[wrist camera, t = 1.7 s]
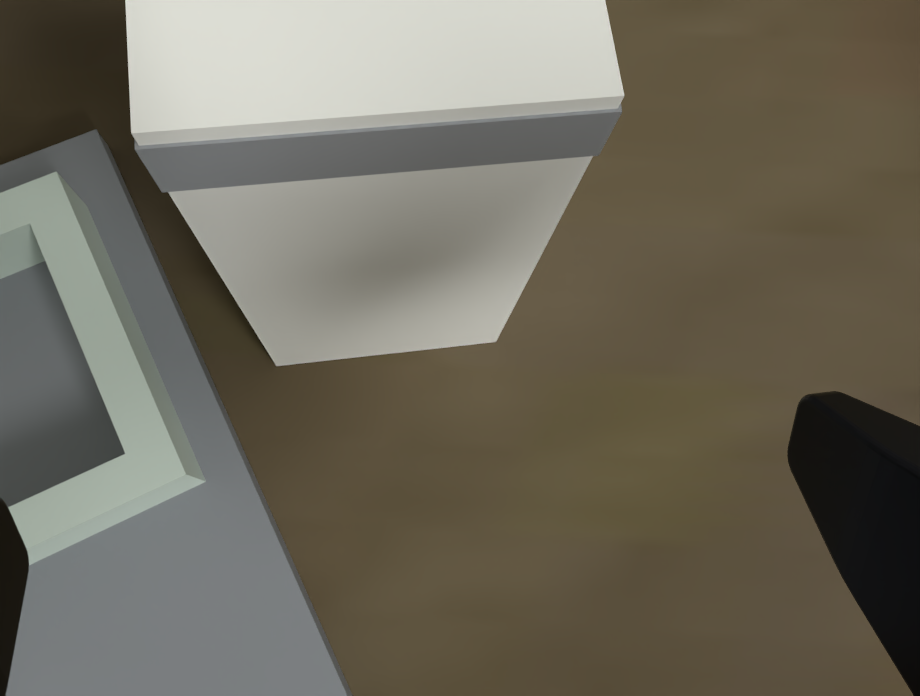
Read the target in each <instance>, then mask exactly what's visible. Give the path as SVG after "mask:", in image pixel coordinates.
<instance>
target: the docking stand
mask: <svg viewBox="0 0 920 696" xmlns="http://www.w3.org/2000/svg"><path fill="white" fill-rule="evenodd" d="M0 498H2V499H3V500H4V501H5V503H6V504H7V506H8V508H9V510H10V512H11V515H12V517H13V519H14V521H15V524H16V526H17V528H18V531H19V533H20V535H21V537H22V540H23V542H24V544H25V546H26V549H27V552H28V557H29V573H28V579H27V584H26V589H25V595H24V600H23V606H22V611H21V617H20V622H19V628H18V633H17V639H16V644H15V649H14V655H13V660H12V666H11V671H10V677H9V682H8V687H7V692H6V696H353V695H352V693H351V691H350V689H349V686H348V684H347V682H346V680H345V677H344V675H343V673H342V671H341V668H340V666H339V664H338V662H337V659H336V657H335V655H334V653H333V650H332V648H331V646H330V644H329V641H328V639H327V637H326V635H325V632H324V630H323V628H322V626H321V623H320V621H319V619H318V617H317V614H316V612H315V610H314V608H313V605H312V603H311V601H310V599H309V596H308V594H307V592H306V590H305V587H304V585H303V583H302V581H301V578H300V576H299V574H298V572H297V569H296V567H295V565H294V563H293V560H292V558H291V556H290V554H289V551H288V549H287V547H286V545H285V542H284V540H283V538H282V536H281V533H280V531H279V529H278V527H277V524H276V522H275V520H274V518H273V515H272V513H271V511H270V509H269V506H268V504H267V502H266V500H265V497H264V495H263V493H262V491H261V488H260V486H259V484H258V482H257V479H256V477H255V475H254V473H253V470H252V468H251V466H250V464H249V461H248V459H247V457H246V455H245V452H244V450H243V448H242V446H241V443H240V441H239V439H238V437H237V434H236V432H235V430H234V428H233V425H232V423H231V421H230V419H229V416H228V414H227V412H226V410H225V407H224V405H223V403H222V401H221V398H220V396H219V394H218V392H217V389H216V387H215V385H214V383H213V380H212V378H211V376H210V374H209V371H208V369H207V367H206V365H205V362H204V360H203V358H202V356H201V353H200V351H199V349H198V347H197V344H196V342H195V340H194V338H193V335H192V333H191V331H190V329H189V326H188V324H187V322H186V320H185V317H184V315H183V313H182V311H181V308H180V306H179V304H178V302H177V299H176V297H175V295H174V293H173V290H172V288H171V286H170V284H169V281H168V279H167V277H166V275H165V272H164V270H163V268H162V266H161V263H160V261H159V259H158V257H157V254H156V252H155V250H154V248H153V245H152V243H151V241H150V239H149V236H148V234H147V232H146V230H145V227H144V225H143V223H142V221H141V218H140V216H139V214H138V212H137V209H136V207H135V205H134V203H133V200H132V198H131V196H130V194H129V191H128V189H127V187H126V185H125V182H124V180H123V178H122V176H121V173H120V171H119V169H118V167H117V164H116V162H115V160H114V158H113V155H112V153H111V151H110V149H109V147H108V145H107V144H106V142H105V141H104V139H103V138H102V137H101V135H100V134H99V132H98V131H97V130H96V129H95V130H92V131H90V132H87V133H85V134H82V135H79V136H77V137H74V138H71V139H69V140H66V141H63V142H61V143H58V144H55V145H53V146H50V147H47V148H45V149H42V150H39V151H37V152H34V153H32V154H29V155H26V156H24V157H21V158H18V159H16V160H13V161H10V162H8V163H5V164H2V165H0Z"/></svg>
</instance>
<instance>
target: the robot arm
mask: <svg viewBox="0 0 920 696" xmlns="http://www.w3.org/2000/svg"><path fill="white" fill-rule="evenodd" d="M788 463H789V466H790V469H791V472H792V474H793V476H794V478H795V480H796V482H797V484H798V486H799V489H800V491H801V493H802V495H803V497H804V499H805V501H806V503H807V505H808V508H809V510H810V512H811V514H812V516H813V518H814V520H815V522H816V524H817V527H818V529H819V531H820V533H821V535H822V537H823V539H824V541H825V544H826V546H827V548H828V550H829V552H830V554H831V556H832V558H833V560H834V562H835V564H836V566H837V568H838V570H839V572H840V574H841V576H842V578H843V580H844V581H845V583H846V585H847V586H848V588H849V590H850V592H851V593H852V595H853V597H854V598H855V600H856V602H857V603H858V605H859V607H860V608H861V610H862V612H863V613H864V615H865V616H866V618H867V620H868V621H869V623H870V625H871V626H872V628H873V630H874V631H875V633H876V635H877V636H878V638H879V639H880V641H881V643H882V644H883V646H884V648H885V649H886V651H887V653H888V654H889V656H890V657H891V659H892V661H893V662H894V664H895V666H896V667H897V669H898V671H899V672H900V674H901V675H902V677H903V679H904V680H905V682H906V684H907V685H908V687H909V689H910V690H911V692H912V693H913V695H914V696H920V426H918V425H916V424H913V423H911V422H909V421H907V420H904V419H902V418H900V417H897V416H895V415H893V414H890V413H888V412H886V411H883V410H881V409H879V408H876V407H874V406H872V405H869V404H867V403H865V402H862V401H860V400H858V399H855V398H853V397H851V396H848V395H846V394H844V393H841V392H837V391H831V392H823V393H815V394H808V395H806V396H804V397H803V398H802V399H801V400H800V402H799V404H798V407H797V411H796V415H795V419H794V424H793V428H792V432H791V436H790V441H789V445H788ZM28 573H29V557H28V552H27V549H26V546H25V544H24V542H23V540H22V537H21V535H20V533H19V531H18V528H17V526H16V524H15V521H14V519H13V517H12V515H11V512H10V510H9V508H8V506H7V504H6V503H5V501H4V500H3V499H2V498H0V696H6V692H7V687H8V682H9V677H10V671H11V666H12V660H13V655H14V649H15V644H16V639H17V633H18V628H19V622H20V617H21V611H22V606H23V600H24V595H25V589H26V584H27V579H28Z"/></svg>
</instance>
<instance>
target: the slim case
mask: <svg viewBox="0 0 920 696" xmlns="http://www.w3.org/2000/svg"><path fill="white" fill-rule="evenodd" d="M125 5H126V27H127V50H128V73H129V95H130V118H131V134H132V135H133V137H134V143H135V151H136V152H137V154H138V156H139V157H140V159H141V160H142V162H143V163H144V165H145V167H146V168H147V170H148V171H149V173H150V174H151V176H152V177H153V179H154V181H155V182H156V184H157V185H158V187H159V188H160V190H161V192H168V193H169V195H170V196H171V198H172V200H173V201H174V203H175V204H176V206H177V208H178V209H179V211H180V212H181V214H182V216H183V217H184V219H185V220H186V222H187V224H188V225H189V227H190V228H191V230H192V232H193V233H194V235H195V236H196V238H197V240H198V241H199V243H200V244H201V246H202V248H203V249H204V251H205V253H206V254H207V256H208V257H209V259H210V261H211V262H212V264H213V265H214V267H215V269H216V270H217V272H218V273H219V275H220V277H221V278H222V280H223V281H224V283H225V285H226V286H227V288H228V289H229V291H230V293H231V294H232V296H233V297H234V299H235V301H236V302H237V304H238V305H239V307H240V309H241V310H242V312H243V313H244V315H245V317H246V318H247V320H248V321H249V323H250V325H251V326H252V328H253V329H254V331H255V333H256V334H257V336H258V338H259V339H260V341H261V342H262V344H263V346H264V347H265V349H266V350H267V352H268V354H269V355H270V357H271V358H272V360H273V362H274V363H275V365H276V366H283V365H292V364H301V363H310V362H319V361H328V360H337V359H346V358H355V357H364V356H373V355H382V354H391V353H401V352H410V351H419V350H428V349H437V348H446V347H455V346H464V345H473V344H482V343H491V342H496V341H497V339H498V337H499V335H500V333H501V331H502V329H503V327H504V325H505V323H506V322H507V320H508V318H509V316H510V314H511V312H512V310H513V308H514V306H515V304H516V302H517V300H518V299H519V297H520V295H521V293H522V291H523V289H524V287H525V285H526V283H527V281H528V279H529V277H530V276H531V274H532V272H533V270H534V268H535V266H536V264H537V262H538V260H539V258H540V256H541V255H542V253H543V251H544V249H545V247H546V245H547V243H548V241H549V239H550V237H551V235H552V233H553V232H554V230H555V228H556V226H557V224H558V222H559V220H560V218H561V216H562V214H563V212H564V210H565V209H566V207H567V205H568V203H569V201H570V199H571V197H572V195H573V193H574V191H575V189H576V187H577V186H578V184H579V182H580V180H581V178H582V176H583V174H584V172H585V170H586V168H587V166H588V165H589V163H590V161H591V159H592V157H593V156H599V154H600V152H601V150H602V148H603V146H604V145H605V143H606V141H607V139H608V137H609V135H610V133H611V132H612V130H613V128H614V126H615V124H616V122H617V120H618V118H619V117H620V115H621V113H622V108H621V101H622V99H623V97H624V92H623V87H622V82H621V77H620V72H619V67H618V62H617V57H616V52H615V47H614V42H613V37H612V32H611V27H610V22H609V17H608V13H607V8H606V3H605V0H125Z"/></svg>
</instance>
